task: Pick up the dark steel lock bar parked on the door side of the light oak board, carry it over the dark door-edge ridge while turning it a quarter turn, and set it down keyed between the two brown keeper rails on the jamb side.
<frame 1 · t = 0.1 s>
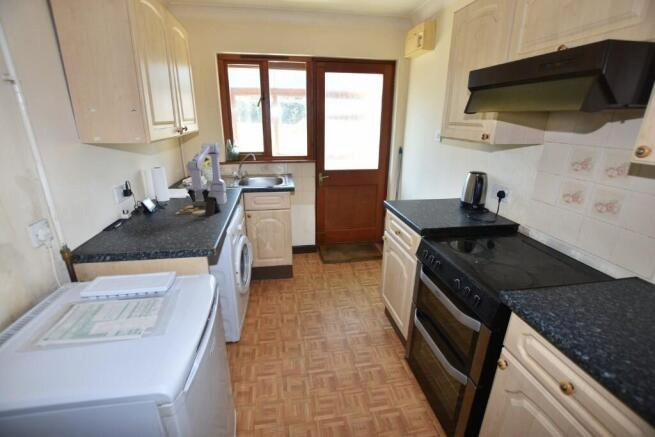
hand: (200, 201, 186), 10 cm above the worktop, fingers open, 7 cm apart
phone stand: (213, 215, 193), on the worktop
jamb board: (195, 210, 201), on the worktop
lock bar: (200, 207, 206), point 1 cm above the worktop, touching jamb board
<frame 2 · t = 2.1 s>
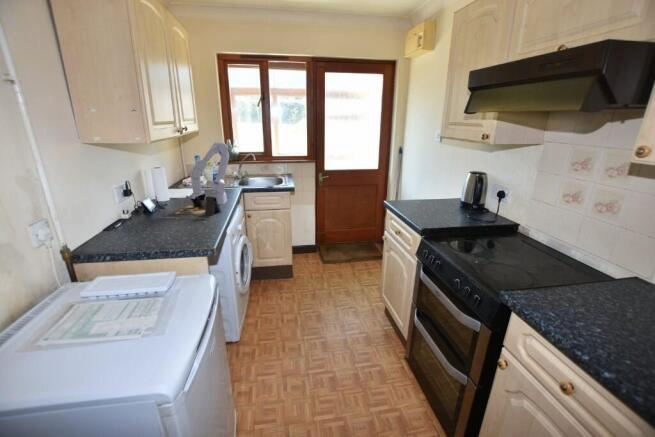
hand: (199, 206, 205), 2 cm above the worktop, fingers open, 6 cm apart
nothing on the worktop moved.
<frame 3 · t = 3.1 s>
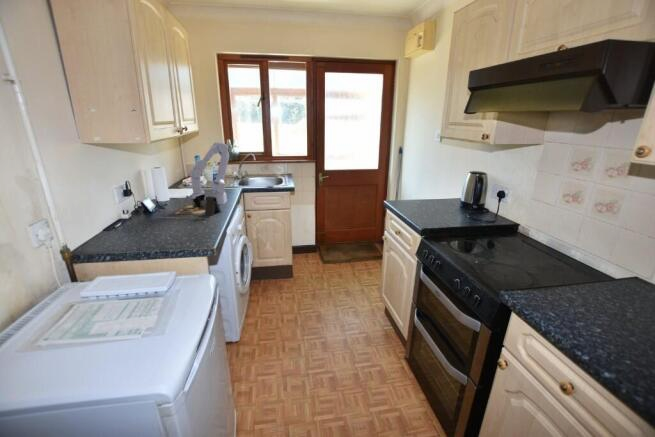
hand: (199, 206, 205), 2 cm above the worktop, fingers closed on lock bar, 4 cm apart
lock bar: (200, 207, 206), point 1 cm above the worktop, touching gripper, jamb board
everything else where it was.
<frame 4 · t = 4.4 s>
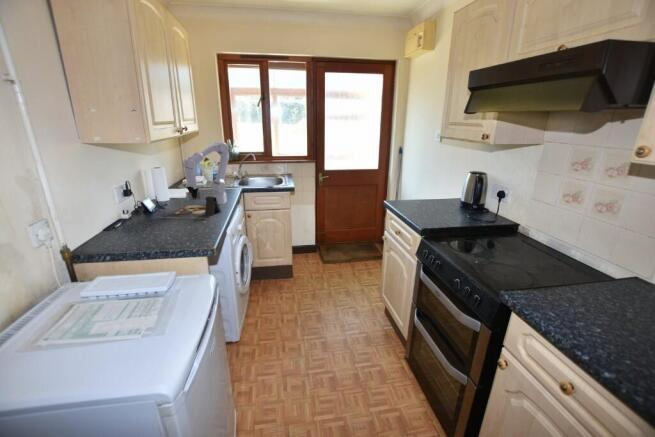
hand: (193, 197, 199), 9 cm above the worktop, fingers closed on lock bar, 4 cm apart
lock bar: (193, 199, 199), point 8 cm above the worktop, touching gripper
everything else where it was.
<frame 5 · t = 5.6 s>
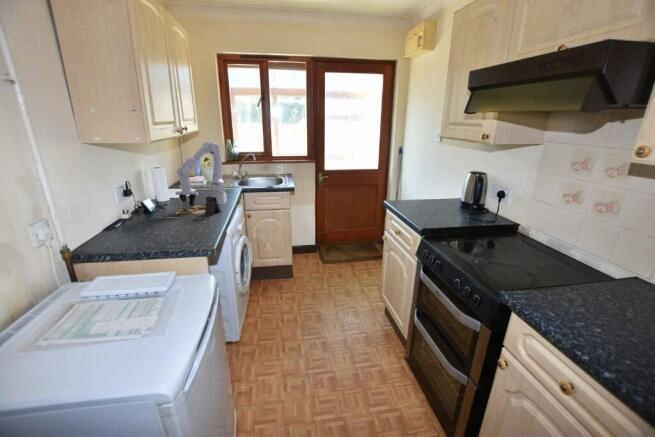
hand: (188, 205, 196), 5 cm above the worktop, fingers closed on lock bar, 4 cm apart
lock bar: (189, 207, 196), point 4 cm above the worktop, touching gripper
everything else where it was.
when the fingers open (3 cm above the worktop, at t = 6.4 s): lock bar stays where it is, resting on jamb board.
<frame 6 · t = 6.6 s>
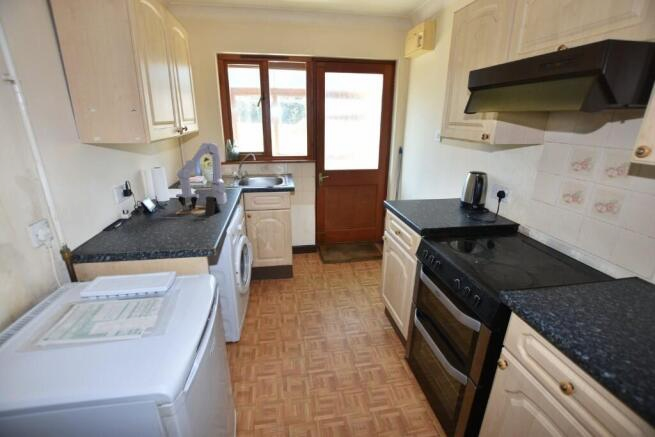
hand: (189, 207, 197), 3 cm above the worktop, fingers open, 6 cm apart
lock bar: (189, 211, 197), point 1 cm above the worktop, touching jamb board
everything else where it was.
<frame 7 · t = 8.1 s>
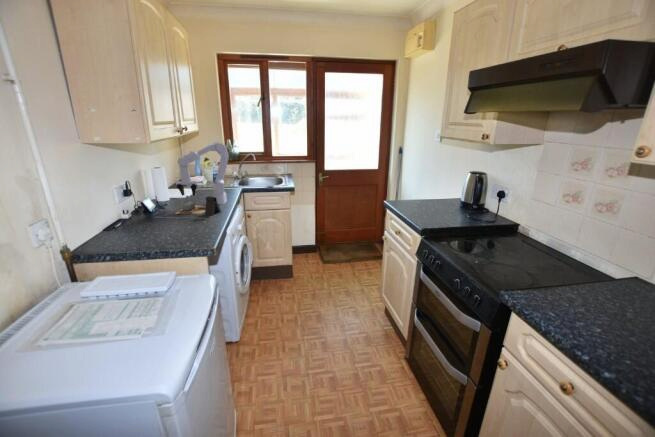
hand: (188, 195, 202), 10 cm above the worktop, fingers open, 7 cm apart
nothing on the worktop moved.
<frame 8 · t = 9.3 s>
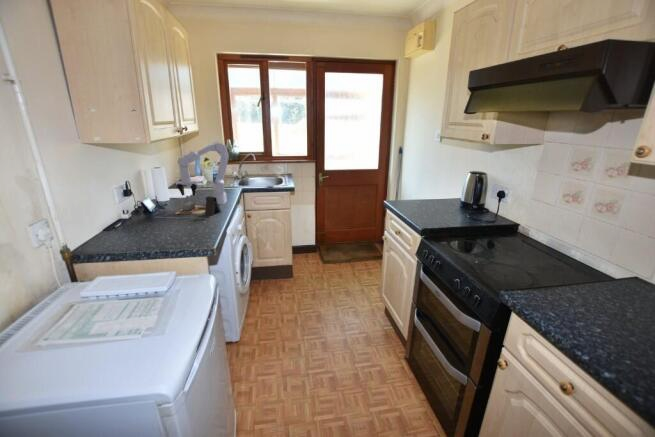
hand: (188, 195, 202), 10 cm above the worktop, fingers open, 7 cm apart
nothing on the worktop moved.
at the end: lock bar 0.2 cm from the target spot on the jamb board, point 1.1 cm above the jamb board's base; lock bar tilted 0°; the gripper is holding nothing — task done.
